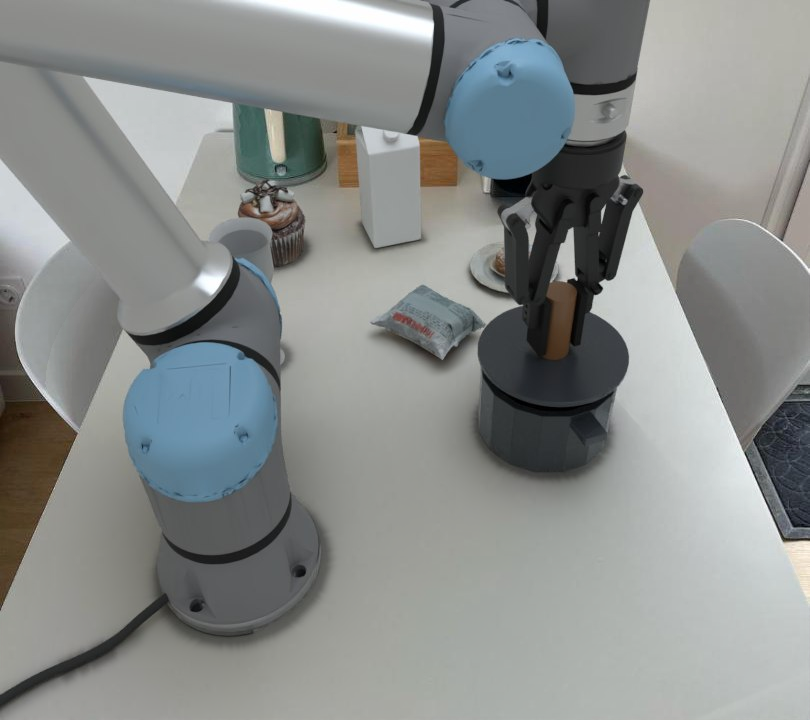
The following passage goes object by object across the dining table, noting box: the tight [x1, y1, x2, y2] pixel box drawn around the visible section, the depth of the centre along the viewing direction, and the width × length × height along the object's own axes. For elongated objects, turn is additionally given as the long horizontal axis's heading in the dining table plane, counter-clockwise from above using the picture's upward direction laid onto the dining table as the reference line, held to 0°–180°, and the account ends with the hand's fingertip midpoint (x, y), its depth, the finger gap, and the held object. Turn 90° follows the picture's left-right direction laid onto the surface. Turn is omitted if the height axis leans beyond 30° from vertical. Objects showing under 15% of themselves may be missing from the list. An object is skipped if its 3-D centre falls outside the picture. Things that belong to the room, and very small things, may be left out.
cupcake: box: [237, 178, 307, 267], centre depth 113 cm, size 10×10×10 cm
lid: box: [477, 280, 630, 408], centre depth 80 cm, size 15×15×9 cm
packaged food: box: [369, 284, 487, 361], centre depth 100 cm, size 9×12×5 cm
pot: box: [477, 367, 618, 473], centre depth 87 cm, size 14×19×9 cm
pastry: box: [469, 241, 559, 294], centre depth 110 cm, size 12×12×5 cm
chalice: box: [208, 217, 286, 366], centre depth 94 cm, size 7×7×18 cm
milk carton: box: [354, 125, 422, 249], centre depth 113 cm, size 7×7×19 cm
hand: (553, 342), depth 82 cm, fingers closed on lid, 3 cm apart
